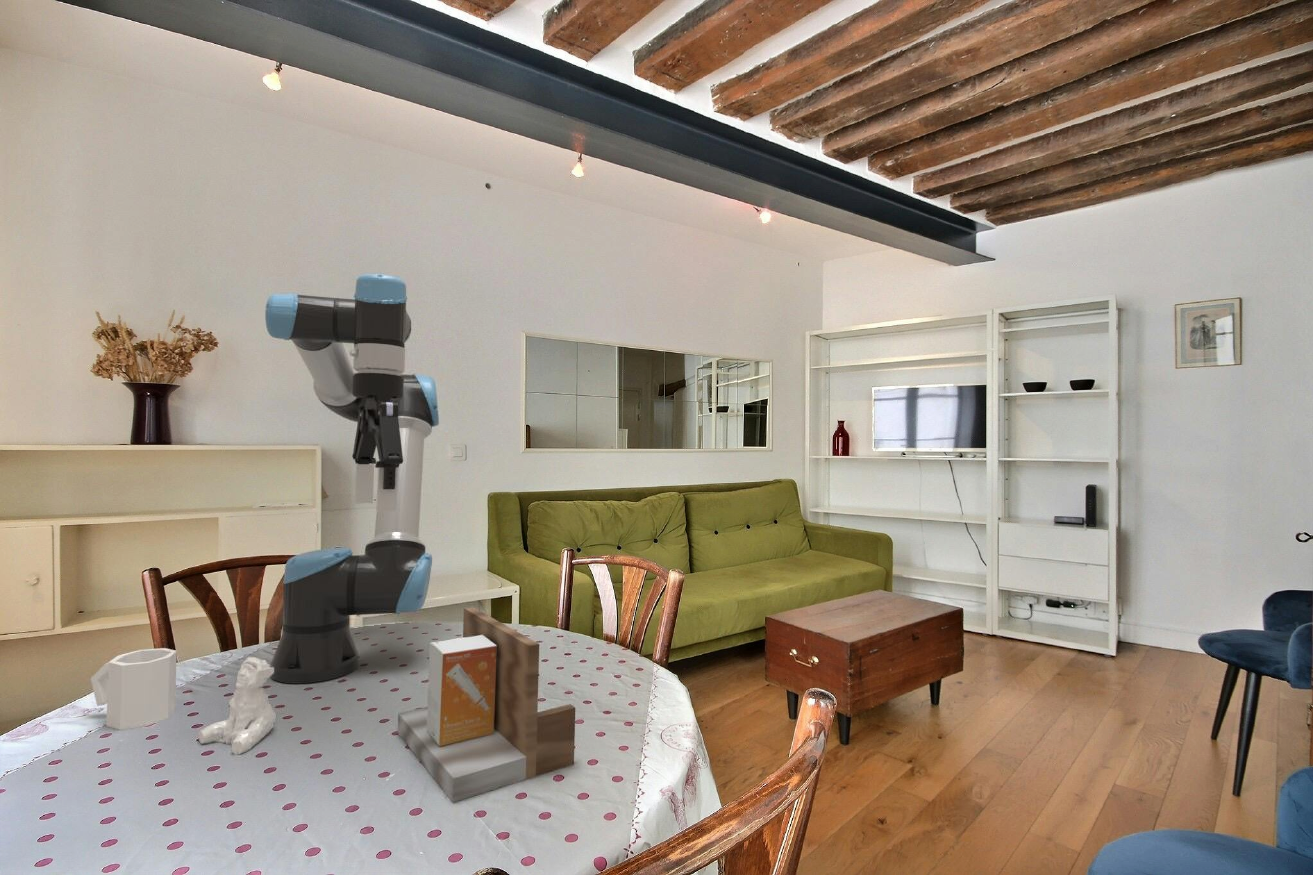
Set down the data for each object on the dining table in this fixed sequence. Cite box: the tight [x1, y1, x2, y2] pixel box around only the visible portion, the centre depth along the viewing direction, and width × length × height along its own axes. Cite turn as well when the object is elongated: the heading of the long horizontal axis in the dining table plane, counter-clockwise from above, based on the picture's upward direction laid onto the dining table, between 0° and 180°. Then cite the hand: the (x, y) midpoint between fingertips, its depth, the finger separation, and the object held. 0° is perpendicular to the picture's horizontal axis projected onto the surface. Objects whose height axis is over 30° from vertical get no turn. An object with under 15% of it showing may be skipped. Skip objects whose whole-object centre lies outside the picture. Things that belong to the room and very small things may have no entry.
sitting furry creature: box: [198, 656, 277, 756], centre depth 98 cm, size 10×9×12 cm
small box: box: [427, 635, 497, 746], centre depth 95 cm, size 8×6×13 cm
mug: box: [90, 647, 178, 731], centre depth 104 cm, size 12×9×10 cm
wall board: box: [397, 606, 576, 803], centre depth 97 cm, size 24×18×18 cm
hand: (374, 507), depth 104 cm, fingers open, 13 cm apart
